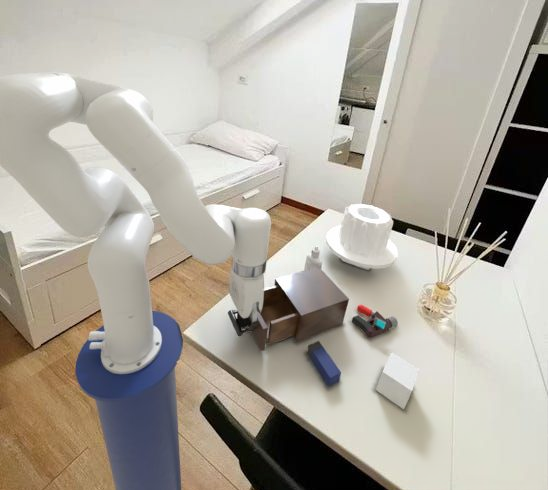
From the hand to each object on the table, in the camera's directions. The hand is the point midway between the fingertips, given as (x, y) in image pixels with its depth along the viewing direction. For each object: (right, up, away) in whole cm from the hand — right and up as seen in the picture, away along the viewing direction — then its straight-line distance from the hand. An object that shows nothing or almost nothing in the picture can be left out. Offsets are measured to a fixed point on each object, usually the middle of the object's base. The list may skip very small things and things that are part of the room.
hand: (243, 324), depth 71 cm
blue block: (+18, -8, -4) cm, 20 cm away
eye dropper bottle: (+19, +4, +24) cm, 31 cm away
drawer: (+5, -2, +4) cm, 7 cm away
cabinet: (+16, -2, +10) cm, 19 cm away
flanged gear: (+38, +7, +36) cm, 53 cm away
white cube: (+34, -11, -7) cm, 36 cm away
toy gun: (+34, -4, +10) cm, 36 cm away
